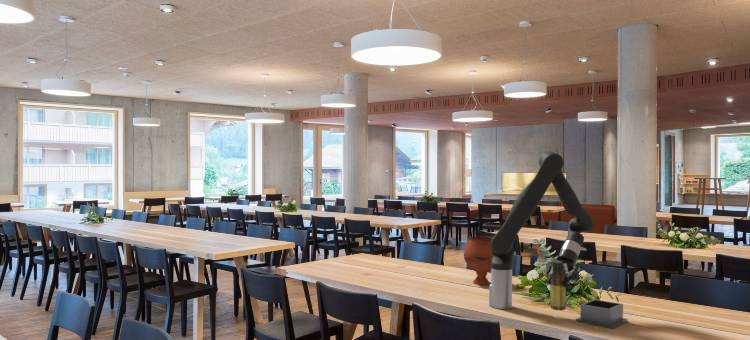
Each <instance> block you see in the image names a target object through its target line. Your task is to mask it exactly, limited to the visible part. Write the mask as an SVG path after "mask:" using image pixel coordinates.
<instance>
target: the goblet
mask: <svg viewBox="0 0 750 340" xmlns="http://www.w3.org/2000/svg"><path fill="white" fill-rule="evenodd" d="M493 237H494V236H487V235H477V236H469V237H468V240H467V242H466V244H465V247H464V250H463V261H464V262H465V263H466V265H467V266H468V267H469V268H470V269H471V270H473V271H474V272H475V273H476V277H475V278H474V280H473V281H472V283H473V284H475V285H483V284H484V285H490V281H489V279H488V278H487V275H488V273H490V271H491V261H492V248H491V240H492V238H493Z"/></svg>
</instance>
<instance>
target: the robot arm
mask: <svg viewBox="0 0 750 340" xmlns="http://www.w3.org/2000/svg"><path fill="white" fill-rule="evenodd" d="M564 164H565V161H564V159H563V156H562V155H561V154H559V153H556V152H554V151H549V150H548V151H545V152H543V153H541V154H540V156H539V159H538V165H539V169H538V171H537V173H536V174H535V176H534V178H533V179H532V180H531V181H530V182H529V183H528V184H527V185H526V186H524V188H523V189H522V190H521V192H520V193H519V194H518V196H517V197H516V199H515V200H514V203H513V204H512V206H511V208H510V210H509V212H508V215H507V216H506V219H505V221H504V223H503V224H502V226H501V227H500V229H499V230H498V231H497V233H496V234H495V235H493V236H492V237H493V238H492V240H491V248H492V261H491V272H490V276H491V277H490V278H491V279H490V281H491V282H490V283H489V284H488V287H489V288H488V289H489V290H488V295H489V296H488V306H490V307H491V308H494V309H499V310H500V309H501V310H503V309H504V310H507V309H511V308H513V260H514V259H513V258H514V257H513V249H514V248H513V247H514V246H513V245H514V242H515V240H516V238H517V236H518V235H519V233H520V230H521V229H522V228H523V227H524V226H525V224H526V223H527V222H528V221H529V219H530V218H531V217H532V215H533V214H534V213H535V211H536V209H537V207H538V205H540V202H541V201H542V199H543V197H544V196H545V194H546V192H547V191H548V189H549V187H550V185H551V184H552V186H553V189H555V192H556V194H557V197H558V198H559V200H560V202H561V205H562V207H563V209H564V211H565V213H566V214H567V215H569V216H573V218H571V219H570V220H569V222H568V226H567V236H566V238H565V240H564V243H563V244H562V245H561V248H560V251H559V252H558V255H557V258H556V261H561V262H562V263H563V265H562V273H563V275H565V279H564V281H563V284H562V285H563V287H566V288H567V287H568V286H569V284H570V281H575V280H576V279H577V277H578V275H579V274H580V272H581V268H580V266H579V265H576V263H577V261H578V258H579V256H580V253H581V249H582V246H583V244H584V241H585V237H584V235H583V234H582V233H590V232H591V231H593V230H594V227H595V223H594V220H593V218H592V217H591V215H590V214H589V213H588V212H587V210H586V209H585V208H584V207H583V206H582V204H581V203H580V200H579V198H578V196H577V194H576V193H575V191H574V190H573V187H572V186H571V185H570V182H569V181H568V180H567V179H566V177H565V174H564V173H563V170H562V169H563V168H564ZM571 271H572V272H571ZM544 272H545V274H546V276H547V278H546V283H547V285H549V286H550V278H551V275H552V273H553V265H552V262H551V261H548V262H547V264H546V268H545V271H544Z"/></svg>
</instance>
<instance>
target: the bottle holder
mask: <svg viewBox="0 0 750 340" xmlns="http://www.w3.org/2000/svg"><path fill="white" fill-rule="evenodd" d="M628 320H629V318H624V304H623V303H620V302H619V303H618V302H612V301H606V300H600V299H595V298H594V299H591V300H589V301H586V302H584V303H581V304H580V317H576V318H575V322H577V323H583V324H587V325H592V326H598V327H601V328H602V327H603V328H606V329H607V328H608V329H616V328H618V327H620V326H622V325H623V324H625V323H627V322H628Z"/></svg>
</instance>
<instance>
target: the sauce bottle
mask: <svg viewBox="0 0 750 340" xmlns="http://www.w3.org/2000/svg"><path fill="white" fill-rule="evenodd" d="M551 263H552V265H553V268H552V269H553V273H552V275H551V278H550V285H549V290H550V291H549V297H550V298H549V299H550V301H549V302H550V308H551V309H552V310H554V311H565V310H566V308H567V307H566V305H567V296H566V295H567V291H566V290H567V286H566V287H563V285H562V284H563V281H564V279H565V277H566V275H565V274H563V273H562V265H563V263H562V262H561V261H557V260H553V261H552V262H551Z"/></svg>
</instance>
